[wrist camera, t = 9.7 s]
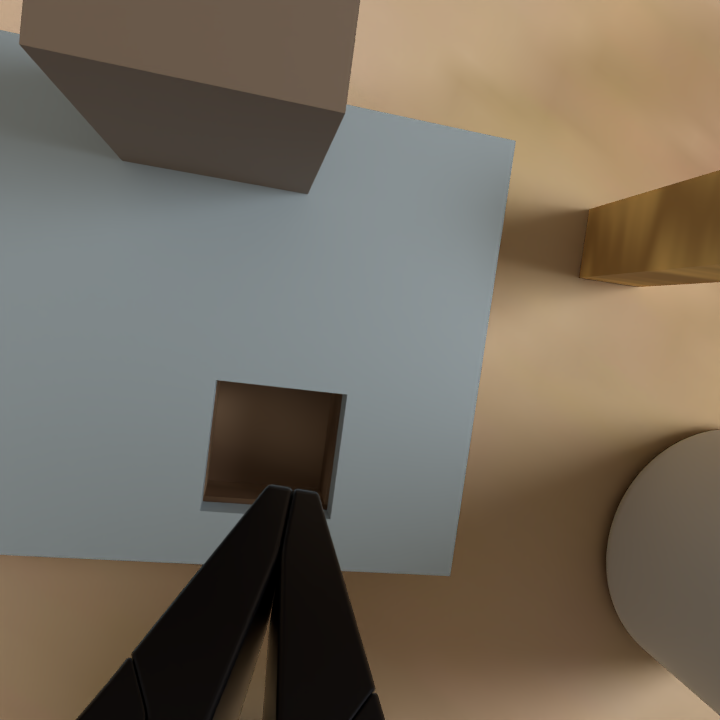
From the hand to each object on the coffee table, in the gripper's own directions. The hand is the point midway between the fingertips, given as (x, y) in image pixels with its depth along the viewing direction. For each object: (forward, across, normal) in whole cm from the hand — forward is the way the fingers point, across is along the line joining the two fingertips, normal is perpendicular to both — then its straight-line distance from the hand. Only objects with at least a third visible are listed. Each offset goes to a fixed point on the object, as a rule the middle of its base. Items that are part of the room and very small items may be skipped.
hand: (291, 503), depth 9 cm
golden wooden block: (+19, -13, +1) cm, 23 cm away
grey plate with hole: (+10, +4, +4) cm, 12 cm away
